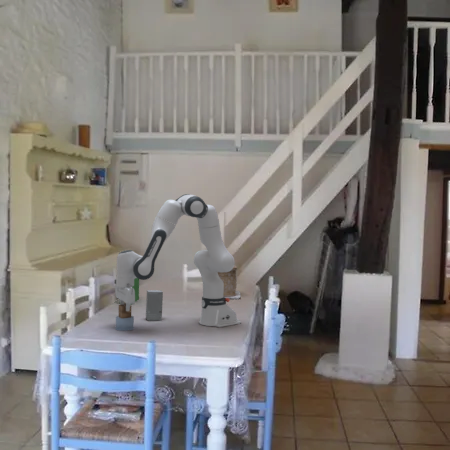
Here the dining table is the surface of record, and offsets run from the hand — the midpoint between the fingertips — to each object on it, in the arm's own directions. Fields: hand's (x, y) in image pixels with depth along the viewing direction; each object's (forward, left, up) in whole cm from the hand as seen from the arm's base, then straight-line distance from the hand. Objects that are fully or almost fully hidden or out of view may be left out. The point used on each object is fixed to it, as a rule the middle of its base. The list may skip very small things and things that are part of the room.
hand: (125, 309), depth 274 cm
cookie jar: (-90, -61, -10) cm, 109 cm away
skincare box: (-21, -13, -10) cm, 26 cm away
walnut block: (0, 0, -4) cm, 4 cm away
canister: (0, 0, -10) cm, 10 cm away
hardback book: (-25, -65, -10) cm, 70 cm away
